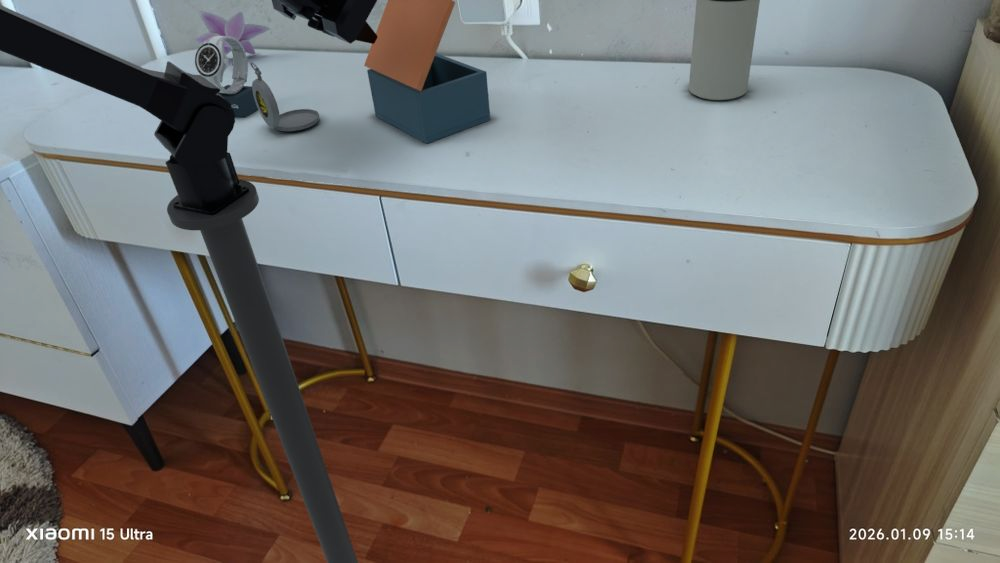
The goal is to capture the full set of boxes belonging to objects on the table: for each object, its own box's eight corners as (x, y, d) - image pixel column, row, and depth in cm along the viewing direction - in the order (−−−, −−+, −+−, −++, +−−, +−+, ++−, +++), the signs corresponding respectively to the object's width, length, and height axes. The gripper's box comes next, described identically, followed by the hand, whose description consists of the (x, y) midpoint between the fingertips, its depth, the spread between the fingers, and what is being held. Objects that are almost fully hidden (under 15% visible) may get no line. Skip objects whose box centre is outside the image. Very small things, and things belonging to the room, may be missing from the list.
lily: (286, 61, 127) (269, 9, 126) (247, 55, 116) (227, -2, 115) (235, 82, 131) (217, 32, 130) (192, 79, 120) (172, 23, 118)
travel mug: (712, 106, 94) (728, -37, 83) (677, 88, 100) (687, -47, 89) (759, 93, 96) (780, -47, 85) (721, 77, 102) (737, -56, 91)
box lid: (398, -14, 93) (393, -16, 92) (455, 2, 84) (450, -1, 83) (368, 67, 95) (363, 65, 95) (421, 91, 86) (416, 89, 86)
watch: (206, 119, 103) (181, 45, 97) (240, 100, 109) (219, 29, 103) (237, 122, 101) (213, 47, 95) (269, 102, 107) (249, 30, 101)
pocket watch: (329, 116, 100) (313, 47, 95) (297, 141, 94) (278, 68, 88) (281, 113, 103) (263, 46, 97) (247, 136, 97) (226, 66, 91)
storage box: (436, 95, 104) (430, 50, 100) (490, 120, 95) (486, 71, 91) (375, 116, 99) (366, 69, 95) (426, 143, 90) (419, 93, 86)
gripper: (343, -100, 68) (447, -7, 80) (270, -109, 81) (369, -27, 92) (290, 0, 69) (401, 78, 81) (225, -24, 82) (329, 46, 93)
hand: (374, 39), depth 87 cm, fingers closed
